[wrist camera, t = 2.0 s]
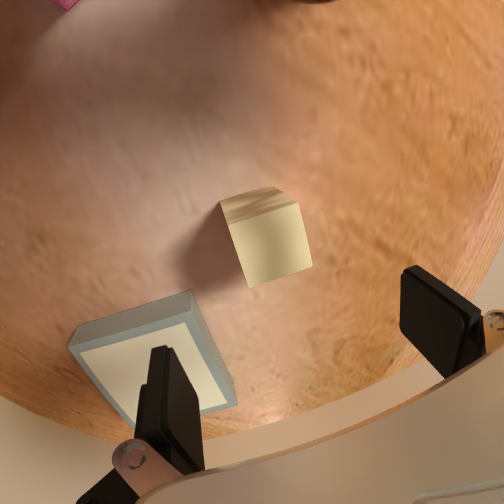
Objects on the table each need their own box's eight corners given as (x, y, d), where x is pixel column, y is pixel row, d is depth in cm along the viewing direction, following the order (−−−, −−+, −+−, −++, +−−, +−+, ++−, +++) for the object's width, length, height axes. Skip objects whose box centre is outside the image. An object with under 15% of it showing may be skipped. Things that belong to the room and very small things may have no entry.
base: (190, 289, 31) (190, 311, 27) (233, 381, 36) (238, 405, 32) (78, 325, 30) (67, 347, 26) (135, 406, 35) (132, 429, 32)
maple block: (271, 184, 28) (298, 202, 21) (284, 233, 30) (312, 266, 23) (219, 201, 28) (227, 225, 21) (235, 249, 30) (248, 288, 23)
